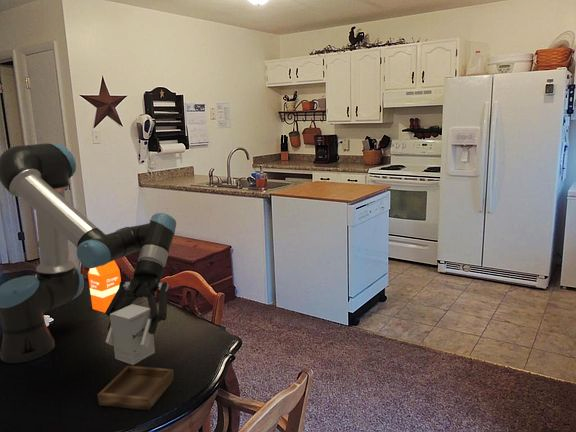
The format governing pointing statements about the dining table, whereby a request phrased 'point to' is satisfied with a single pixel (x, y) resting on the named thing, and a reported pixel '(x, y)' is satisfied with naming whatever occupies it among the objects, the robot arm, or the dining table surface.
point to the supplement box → (130, 333)
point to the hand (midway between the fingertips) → (126, 344)
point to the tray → (136, 387)
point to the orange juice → (103, 285)
